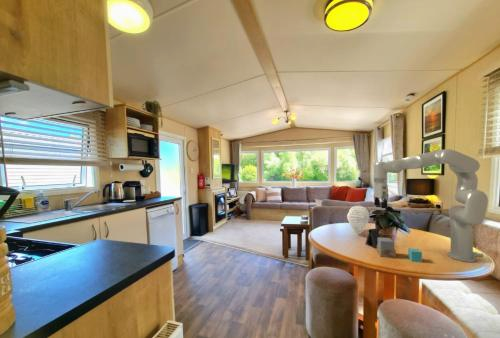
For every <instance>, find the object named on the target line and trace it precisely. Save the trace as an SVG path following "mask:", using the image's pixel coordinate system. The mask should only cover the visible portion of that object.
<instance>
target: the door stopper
mask: <svg viewBox="0 0 500 338" xmlns="http://www.w3.org/2000/svg"><path fill="white" fill-rule="evenodd" d="M378 237H380V230H379V229H378V228H377V227H376V228H369V229H368V234H367V237H366V241H365V245H366V246H369V247H370V248H373V249H375V250H377V245H378ZM380 238H381V237H380Z"/></svg>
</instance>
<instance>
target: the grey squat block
mask: <svg viewBox="0 0 500 338" xmlns="http://www.w3.org/2000/svg"><path fill="white" fill-rule="evenodd" d="M378 246H379V247H380V248H381V249H387V250H394V249H395V242H394V240H392V239H391V237H378Z"/></svg>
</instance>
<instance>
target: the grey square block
mask: <svg viewBox="0 0 500 338" xmlns="http://www.w3.org/2000/svg"><path fill="white" fill-rule="evenodd" d="M396 251H397V250H396V249H395V248H394V250H387V249H381V248H380V247H379V246H378V245H377V248H376V253H377V254H378V255H379V257H380V258H387V259H397V258H396V257H397V256H396Z"/></svg>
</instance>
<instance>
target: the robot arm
mask: <svg viewBox="0 0 500 338" xmlns="http://www.w3.org/2000/svg"><path fill="white" fill-rule="evenodd" d="M442 164H445V165H446V164H448V168H449V170H451V172H453V173H454V175H455V176H456V178H457V182H456V187H455V194H454V199H455V201H456V202H458V203H461V204H462V205H459V204H455V205H453V206H451V207H450V208H449V209H448V217H449V219H448V220H449V223H450V224H449V226H450V251H448V252H447V253H446V255H447V256H448V257H450V258H451V259H453V260H456V261H461V262H466V263H476V262H477V257H479V258H483V257H485V256H484V254H483V253H478V252H476V251H474V248H473V247H474V242H473V241H474V238H473V237H474V233H473V232H474V230H473V229H474V228H473V227H476V226H479V225H482V224H483V222H484V221H485V218H486V214H487V209H488V204H489V198H488V195H487V194H486V192H484V191H482V190H479V189H478V183H479V179H478V176H477V175H478V174H477V173H476V172H478V171H479V170H480V168H481V167H480V166H481V165H480V162H479V161H478V160H477V159H476V158H474V157H471V156H469V155H466V154H464V153H462V152H460V151H457V150H454V149H452V148H451V149H450V148H447V149H438V150H437V149H436V150H433V151H429V152H428V151H427V152H424V153H421V154H420V153H419V154H416V155H411V156H408V157H403V158H399V159H395V160H390V161H376V162H373V188H374V189H373V201H374V202H373V203H374V206H380V205H381V209H388V202H389V201H388V200H389V197H390V196H389V186H388V173H390V174H398V173H399V174H400V172H402V171H404V170H416V169H423V168H427V167H433V166H436V165H442ZM380 202H381V203H380Z"/></svg>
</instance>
